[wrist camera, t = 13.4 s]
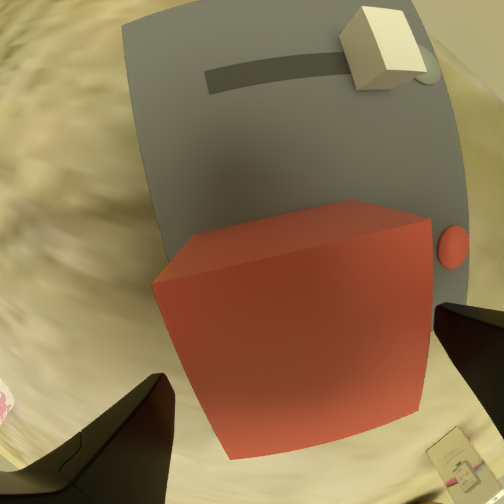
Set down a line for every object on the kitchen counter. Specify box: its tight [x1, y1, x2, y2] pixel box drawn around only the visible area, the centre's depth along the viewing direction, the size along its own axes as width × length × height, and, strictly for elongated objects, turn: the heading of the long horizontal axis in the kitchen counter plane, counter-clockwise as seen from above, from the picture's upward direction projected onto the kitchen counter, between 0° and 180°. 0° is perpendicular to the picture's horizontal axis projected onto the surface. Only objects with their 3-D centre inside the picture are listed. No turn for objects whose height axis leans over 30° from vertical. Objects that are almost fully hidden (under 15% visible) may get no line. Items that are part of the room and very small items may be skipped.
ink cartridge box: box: [427, 426, 504, 504], centre depth 15 cm, size 9×5×15 cm, turn 46°
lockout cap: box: [151, 199, 433, 460], centre depth 10 cm, size 7×7×6 cm
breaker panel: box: [122, 0, 469, 331], centre depth 13 cm, size 16×20×3 cm
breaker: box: [339, 6, 427, 91], centre depth 9 cm, size 2×3×3 cm, turn 13°
